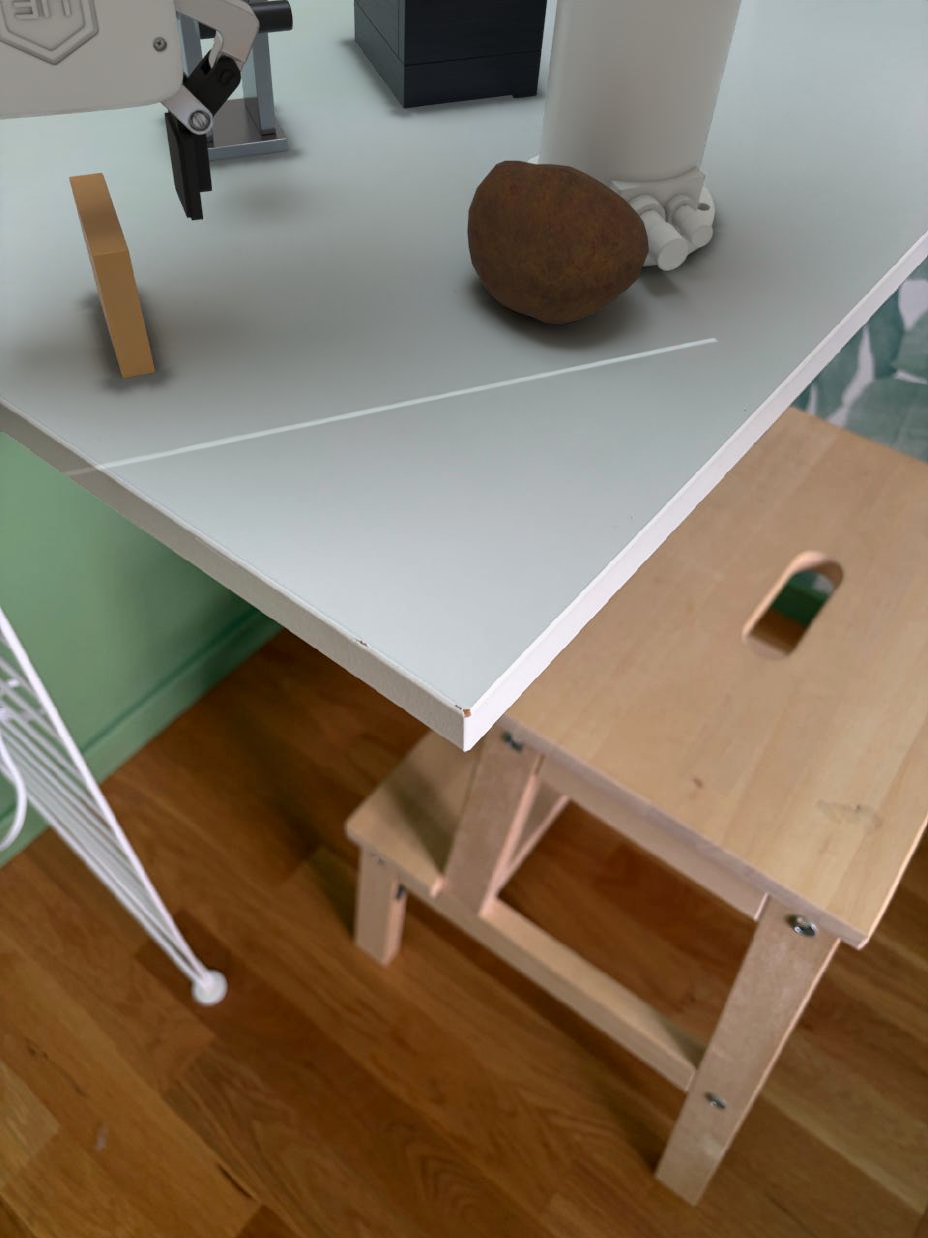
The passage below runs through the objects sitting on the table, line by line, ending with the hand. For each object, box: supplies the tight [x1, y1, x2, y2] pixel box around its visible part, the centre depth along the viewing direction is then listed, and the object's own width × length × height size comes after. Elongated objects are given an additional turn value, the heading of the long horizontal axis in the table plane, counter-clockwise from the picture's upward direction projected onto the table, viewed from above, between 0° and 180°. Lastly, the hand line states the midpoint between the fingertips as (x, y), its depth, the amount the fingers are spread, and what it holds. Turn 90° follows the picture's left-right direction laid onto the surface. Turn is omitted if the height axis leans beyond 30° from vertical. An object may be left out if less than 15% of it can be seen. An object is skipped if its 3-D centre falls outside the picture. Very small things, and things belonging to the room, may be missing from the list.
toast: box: [68, 172, 156, 379], centre depth 50 cm, size 7×2×7 cm, turn 21°
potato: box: [466, 160, 649, 325], centre depth 54 cm, size 7×10×8 cm
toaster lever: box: [194, 0, 294, 40], centre depth 58 cm, size 10×5×2 cm, turn 21°
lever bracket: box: [176, 0, 289, 162], centre depth 63 cm, size 6×6×10 cm
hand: (85, 217), depth 48 cm, fingers open, 9 cm apart
